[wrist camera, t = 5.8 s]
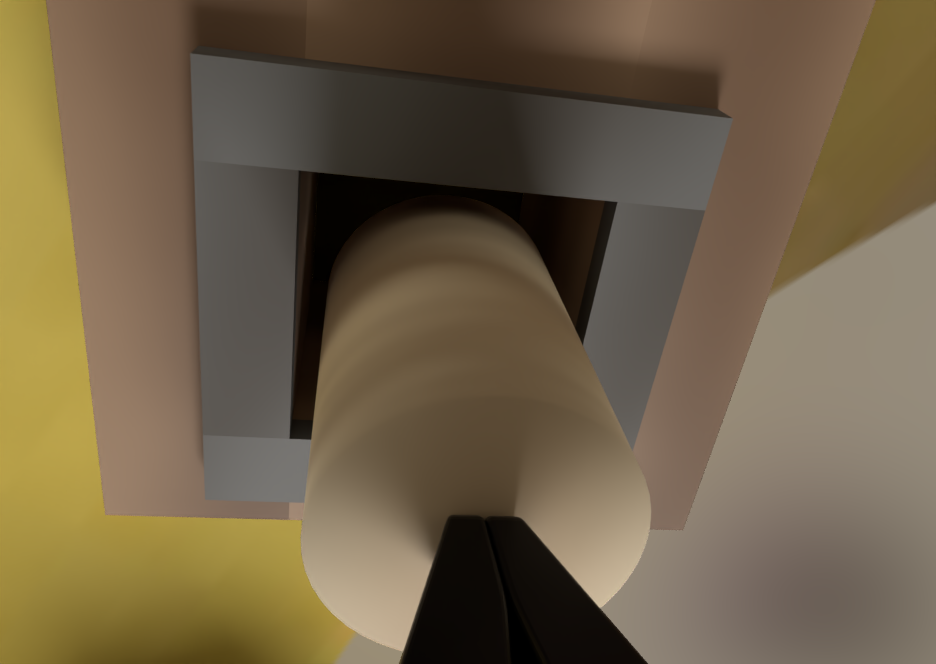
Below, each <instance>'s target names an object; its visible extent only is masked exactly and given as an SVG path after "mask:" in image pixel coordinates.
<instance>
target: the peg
mask: <svg viewBox="0 0 936 664" xmlns="http://www.w3.org/2000/svg"><path fill="white" fill-rule="evenodd" d="M450 515H479V516H481V517H483V518H484V520H485V518H487V517H489V516H517V517H520V518H521V519H523V520H524V521H525V522H526V523H527V524H528V525H529V527H530V528H531V529H532V530H533V531H534V532H535V533H536V535H537V536H538V537H539V538H540V539H541V540H542V542H543V543H544V544H545V545H546V546H547V547H548V549H549V550H550V551H551V552H552V553H553V554H554V555H555V557H556V558H557V559H558V560H559V561H560V562H561V564H562V565H563V566H564V567H565V568H566V569H567V571H568V572H569V573H570V574H571V575H572V576H573V577H574V579H575V580H576V581H577V582H578V583H579V584H580V586H581V587H582V588H583V589H584V590H585V591H586V593H587V594H588V595H589V596H590V597H591V598H592V599H593V601H594V602H595V603H596V604H597V605H598V606H599V608H601V607H602V606H603V605H605V604H606V603H607V602H608V600H610V599H611V598H612V597H613V596H614V595H615V594H616V593H617V592H618V591H619V589H620V588H621V587H622V586H623V584H624V583H625V582H626V580H627V579H628V578H629V577H630V575H631V574H632V572H633V570H634V569H635V567H636V565H637V564H638V562H639V560H640V557H641V555H642V553H643V550H644V548H645V545H646V542H647V538H648V534H649V530H650V521H651V503H650V494H649V490H648V487H647V483H646V480H645V477H644V475H643V473H642V471H641V469H640V466H639V464H638V462H637V460H636V458H635V456H634V454H633V451H632V449H631V447H630V445H629V443H628V441H627V439H626V437H625V434H624V432H623V430H622V428H621V426H620V424H619V422H618V419H617V417H616V415H615V413H614V411H613V409H612V407H611V405H610V402H609V400H608V398H607V396H606V394H605V392H604V390H603V387H602V385H601V383H600V381H599V379H598V377H597V375H596V372H595V370H594V368H593V366H592V364H591V362H590V360H589V358H588V355H587V353H586V351H585V349H584V347H583V345H582V343H581V340H580V338H579V336H578V334H577V332H576V330H575V328H574V326H573V323H572V321H571V319H570V317H569V315H568V313H567V311H566V308H565V306H564V304H563V302H562V300H561V298H560V296H559V294H558V291H557V289H556V287H555V285H554V283H553V281H552V279H551V276H550V274H549V272H548V270H547V268H546V266H545V264H544V262H543V259H542V257H541V255H540V253H539V251H538V249H537V247H536V245H535V244H534V242H533V241H532V239H531V238H530V236H529V235H528V234H527V233H526V232H525V230H524V229H523V228H522V227H521V226H520V225H519V224H518V223H517V222H515V221H514V220H513V219H512V218H511V217H509V216H508V215H506V214H505V213H503V212H502V211H500V210H498V209H497V208H495V207H492V206H490V205H488V204H486V203H483V202H480V201H477V200H474V199H470V198H465V197H459V196H452V195H433V196H422V197H418V198H413V199H409V200H405V201H403V202H400V203H397V204H394V205H392V206H390V207H388V208H386V209H384V210H382V211H380V212H378V213H377V214H375V215H374V216H372V217H371V218H369V219H368V220H367V221H365V222H364V223H363V224H362V225H361V226H360V227H359V228H358V229H356V230H355V232H354V233H353V234H352V235H351V236H350V237H349V239H348V240H347V241H346V242H345V244H344V245H343V247H342V249H341V250H340V252H339V253H338V256H337V258H336V260H335V262H334V264H333V267H332V270H331V274H330V277H329V283H328V291H327V299H326V309H325V318H324V327H323V336H322V346H321V355H320V364H319V373H318V383H317V392H316V401H315V410H314V419H313V429H312V438H311V447H310V456H309V466H308V475H307V484H306V493H305V503H304V512H303V521H302V530H301V554H302V559H303V563H304V567H305V572H306V574H307V576H308V579H309V581H310V583H311V586H312V588H313V589H314V591H315V592H316V594H317V595H318V597H319V598H320V600H321V601H322V603H323V604H324V605H325V606H326V607H327V608H328V609H329V610H330V612H331V613H332V614H333V615H334V616H336V617H337V618H338V619H339V620H340V621H342V622H343V623H344V624H345V625H346V626H348V627H349V628H351V629H353V630H354V631H356V632H357V633H359V634H360V635H362V636H364V637H366V638H368V639H370V640H373V641H375V642H377V643H379V644H381V645H385V646H387V647H391V648H393V649H396V650H400V651H403V650H404V647H405V644H406V641H407V638H408V635H409V632H410V629H411V626H412V623H413V620H414V617H415V614H416V611H417V608H418V605H419V602H420V599H421V596H422V593H423V590H424V587H425V583H426V580H427V577H428V574H429V571H430V568H431V565H432V562H433V559H434V556H435V553H436V550H437V547H438V544H439V541H440V538H441V535H442V532H443V529H444V526H445V523H446V520H447V518H448V517H449V516H450Z"/></svg>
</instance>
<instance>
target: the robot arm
mask: <svg viewBox="0 0 936 664" xmlns="http://www.w3.org/2000/svg"><path fill="white" fill-rule="evenodd" d="M399 664H648V663H647V662H646V661H645V660H644V659H643V657H642V656H641V655H640V654H639V653H638V652H637V650H636V649H635V648H634V647H633V646H632V645H631V643H629V641H628V640H627V639H626V638H625V637H624V635H623V634H622V633H621V632H620V631H619V630H618V628H617V627H616V626H615V625H614V624H613V623H612V622H611V620H610V619H609V618H608V617H607V616H606V615H605V614H604V613H603V611H602V610H601V609H600V608H599V606H598V605H597V604H596V603H595V602H594V601H593V599H592V598H591V597H590V596H589V595H588V594H587V593H586V591H585V590H584V589H583V588H582V587H581V586H580V584H579V583H578V582H577V581H576V580H575V579H574V577H573V576H572V575H571V574H570V573H569V572H568V571H567V569H566V568H565V567H564V566H563V565H562V564H561V562H560V561H559V560H558V559H557V558H556V557H555V555H554V554H553V553H552V552H551V551H550V550H549V549H548V547H547V546H546V545H545V544H544V543H543V542H542V540H541V539H540V538H539V537H538V536H537V535H536V533H535V532H534V531H533V530H532V529H531V528H530V527H529V525H528V524H527V523H526V522H525V521H524V520H523V519H521V518H520V517H517V516H489V517H487V518H485V520H484V518H483V517H481V516H479V515H450V516H449V517H448V518H447V520H446V523H445V526H444V529H443V532H442V535H441V538H440V541H439V544H438V547H437V550H436V553H435V556H434V559H433V562H432V565H431V568H430V571H429V574H428V577H427V580H426V583H425V587H424V590H423V593H422V596H421V599H420V602H419V605H418V608H417V611H416V614H415V617H414V620H413V623H412V626H411V629H410V632H409V635H408V638H407V641H406V644H405V647H404V650H403V653H402V656H401V660H400V662H399Z"/></svg>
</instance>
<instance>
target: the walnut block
mask: <svg viewBox="0 0 936 664" xmlns="http://www.w3.org/2000/svg"><path fill="white" fill-rule="evenodd" d="M875 1H876V0H46V4H47V13H48V21H49V30H50V39H51V47H52V56H53V65H54V73H55V82H56V91H57V99H58V108H59V117H60V125H61V134H62V143H63V151H64V160H65V169H66V177H67V186H68V195H69V203H70V212H71V221H72V230H73V238H74V247H75V256H76V264H77V273H78V282H79V290H80V299H81V308H82V316H83V325H84V334H85V342H86V351H87V360H88V368H89V377H90V386H91V394H92V403H93V412H94V420H95V429H96V438H97V446H98V455H99V464H100V472H101V481H102V490H103V499H104V507H105V515H129V516H167V517H204V518H242V519H280V520H303V512H304V503H305V493H306V484H307V475H308V466H309V456H310V447H311V438H312V429H313V419H314V410H315V401H316V392H317V383H318V373H319V364H320V355H321V346H322V336H323V327H324V318H325V309H326V299H327V291H328V283H329V281H320V280H313V270H314V248H315V227H316V205H317V183H318V172H320V173H330V174H340V175H350V176H360V177H370V178H381V179H391V180H401V181H411V182H421V183H431V184H441V185H451V186H461V187H472V188H482V189H492V190H502V191H512V192H522V193H523V198H522V204H521V209H520V215H519V221H518V224H519V225H520V226H521V227H522V228H523V229H524V230H525V232H526V233H527V234H528V235H529V236H530V238H531V239H532V241H533V242H534V244H535V245H536V247H537V249H538V251H539V253H540V255H541V257H542V259H543V262H544V264H545V266H546V268H547V270H548V272H549V274H550V276H551V279H552V281H553V283H554V285H555V287H556V289H557V291H558V294H559V296H560V298H561V300H562V302H563V304H564V306H565V308H566V311H567V313H568V315H569V317H570V319H571V321H572V323H573V326H574V328H575V330H576V332H577V334H578V336H579V338H580V340H581V343H582V345H583V347H584V349H585V351H586V353H587V355H588V358H589V360H590V362H591V364H592V366H593V368H594V370H595V372H596V375H597V377H598V379H599V381H600V383H601V385H602V387H603V390H604V392H605V394H606V396H607V398H608V400H609V402H610V405H611V407H612V409H613V411H614V413H615V415H616V417H617V419H618V422H619V424H620V426H621V428H622V430H623V432H624V434H625V437H626V439H627V441H628V443H629V445H630V447H631V449H632V451H633V454H634V456H635V458H636V460H637V462H638V464H639V466H640V469H641V471H642V473H643V475H644V477H645V480H646V483H647V487H648V490H649V494H650V503H651V521H650V529H656V530H683V529H684V526H685V523H686V521H687V518H688V515H689V513H690V509H691V507H692V504H693V501H694V499H695V496H696V493H697V491H698V488H699V485H700V482H701V480H702V477H703V474H704V471H705V468H706V466H707V463H708V460H709V457H710V455H711V452H712V449H713V446H714V444H715V441H716V438H717V436H718V433H719V430H720V427H721V424H722V422H723V419H724V416H725V413H726V411H727V408H728V405H729V402H730V399H731V397H732V394H733V391H734V389H735V386H736V383H737V381H738V378H739V375H740V372H741V369H742V367H743V364H744V361H745V358H746V356H747V353H748V350H749V347H750V345H751V342H752V339H753V336H754V334H755V331H756V328H757V325H758V322H759V320H760V317H761V314H762V312H763V309H764V306H765V303H766V301H767V298H768V295H769V292H770V290H771V287H772V284H773V281H774V279H775V276H776V273H777V270H778V268H779V265H780V262H781V259H782V257H783V254H784V251H785V248H786V246H787V243H788V240H789V237H790V235H791V232H792V229H793V226H794V224H795V221H796V218H797V215H798V213H799V210H800V207H801V204H802V202H803V199H804V196H805V193H806V191H807V188H808V185H809V182H810V180H811V177H812V174H813V171H814V169H815V166H816V163H817V160H818V158H819V155H820V152H821V149H822V147H823V144H824V141H825V138H826V136H827V133H828V130H829V127H830V125H831V122H832V119H833V116H834V114H835V111H836V108H837V105H838V103H839V100H840V97H841V94H842V92H843V89H844V86H845V83H846V81H847V78H848V75H849V72H850V70H851V67H852V64H853V61H854V59H855V56H856V53H857V50H858V48H859V45H860V42H861V39H862V37H863V34H864V31H865V28H866V26H867V23H868V20H869V17H870V15H871V12H872V9H873V6H874V4H875Z"/></svg>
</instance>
